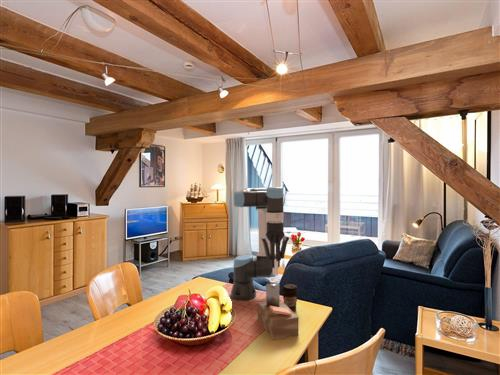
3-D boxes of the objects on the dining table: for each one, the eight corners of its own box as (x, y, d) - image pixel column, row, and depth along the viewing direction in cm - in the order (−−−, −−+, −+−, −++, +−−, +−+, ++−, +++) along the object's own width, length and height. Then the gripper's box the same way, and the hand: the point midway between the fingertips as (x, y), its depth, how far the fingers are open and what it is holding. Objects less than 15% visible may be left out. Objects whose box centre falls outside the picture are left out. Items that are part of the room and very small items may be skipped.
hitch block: (258, 318, 138) (257, 302, 138) (280, 314, 141) (280, 299, 141) (273, 340, 119) (273, 321, 119) (298, 335, 122) (298, 317, 122)
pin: (264, 313, 137) (264, 282, 137) (276, 311, 139) (276, 281, 139) (269, 319, 131) (269, 287, 131) (281, 317, 133) (281, 286, 133)
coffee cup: (299, 314, 142) (299, 289, 142) (283, 314, 142) (283, 289, 142) (297, 306, 151) (296, 283, 150) (281, 306, 151) (281, 283, 151)
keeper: (269, 307, 126) (269, 305, 126) (286, 310, 128) (287, 308, 128) (273, 312, 121) (274, 310, 121) (291, 315, 123) (291, 313, 123)
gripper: (264, 223, 118) (264, 279, 118) (292, 222, 122) (292, 275, 122) (258, 221, 125) (258, 273, 125) (285, 220, 129) (285, 270, 129)
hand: (275, 274), depth 124 cm, fingers closed
